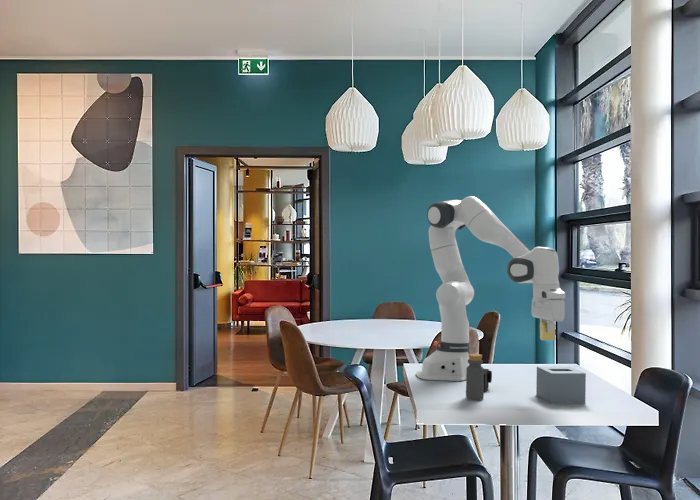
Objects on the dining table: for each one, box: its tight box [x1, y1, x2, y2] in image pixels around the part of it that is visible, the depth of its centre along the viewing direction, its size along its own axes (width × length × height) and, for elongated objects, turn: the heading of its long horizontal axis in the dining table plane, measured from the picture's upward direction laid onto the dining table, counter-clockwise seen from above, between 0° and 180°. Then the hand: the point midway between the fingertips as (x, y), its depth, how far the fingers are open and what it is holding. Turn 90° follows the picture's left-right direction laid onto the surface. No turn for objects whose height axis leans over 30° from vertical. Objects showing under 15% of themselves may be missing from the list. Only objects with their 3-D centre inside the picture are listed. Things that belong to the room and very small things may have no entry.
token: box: [539, 321, 556, 341], centre depth 204 cm, size 4×2×6 cm, turn 94°
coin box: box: [536, 366, 587, 404], centre depth 202 cm, size 12×12×10 cm
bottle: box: [465, 353, 485, 402], centre depth 200 cm, size 6×6×15 cm
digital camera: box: [483, 368, 493, 394], centre depth 214 cm, size 10×5×7 cm, turn 159°
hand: (547, 332), depth 204 cm, fingers closed on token, 2 cm apart
